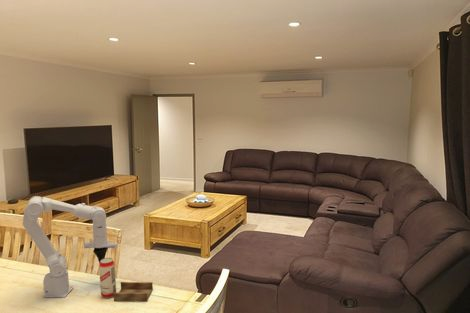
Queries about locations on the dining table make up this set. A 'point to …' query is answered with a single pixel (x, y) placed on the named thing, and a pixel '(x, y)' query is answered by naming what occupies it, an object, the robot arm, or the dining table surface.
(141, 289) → the u rest
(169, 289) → the dining table surface
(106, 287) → the beer can
